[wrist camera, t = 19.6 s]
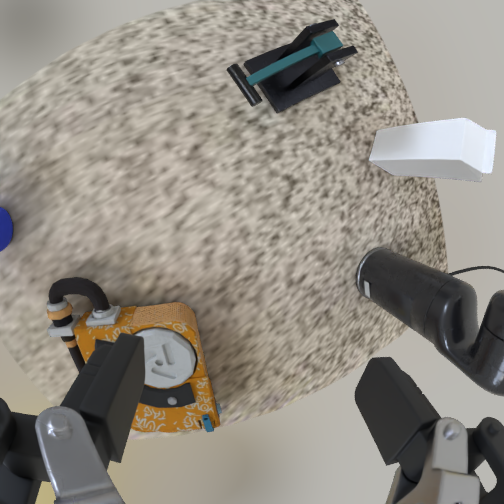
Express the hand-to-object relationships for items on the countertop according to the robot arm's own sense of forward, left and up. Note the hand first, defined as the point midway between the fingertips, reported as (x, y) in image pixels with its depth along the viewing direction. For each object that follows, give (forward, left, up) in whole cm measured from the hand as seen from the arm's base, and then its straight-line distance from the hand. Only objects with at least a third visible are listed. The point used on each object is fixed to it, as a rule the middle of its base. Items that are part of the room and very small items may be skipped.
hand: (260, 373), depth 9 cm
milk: (-28, -15, -31) cm, 45 cm away
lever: (-7, -22, -22) cm, 32 cm away
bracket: (-10, -24, -31) cm, 41 cm away
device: (+10, +21, -31) cm, 38 cm away
